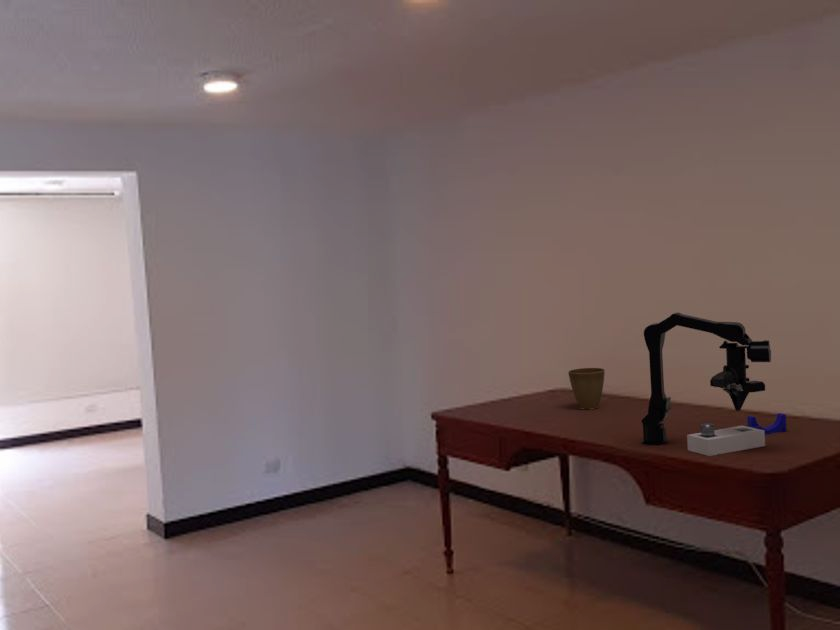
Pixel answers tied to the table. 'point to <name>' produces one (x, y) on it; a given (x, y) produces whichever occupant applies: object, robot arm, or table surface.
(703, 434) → the near peg
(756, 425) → the blue arch block
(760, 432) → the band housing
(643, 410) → the table surface
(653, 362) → the robot arm
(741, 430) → the far peg
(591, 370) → the plant pot
